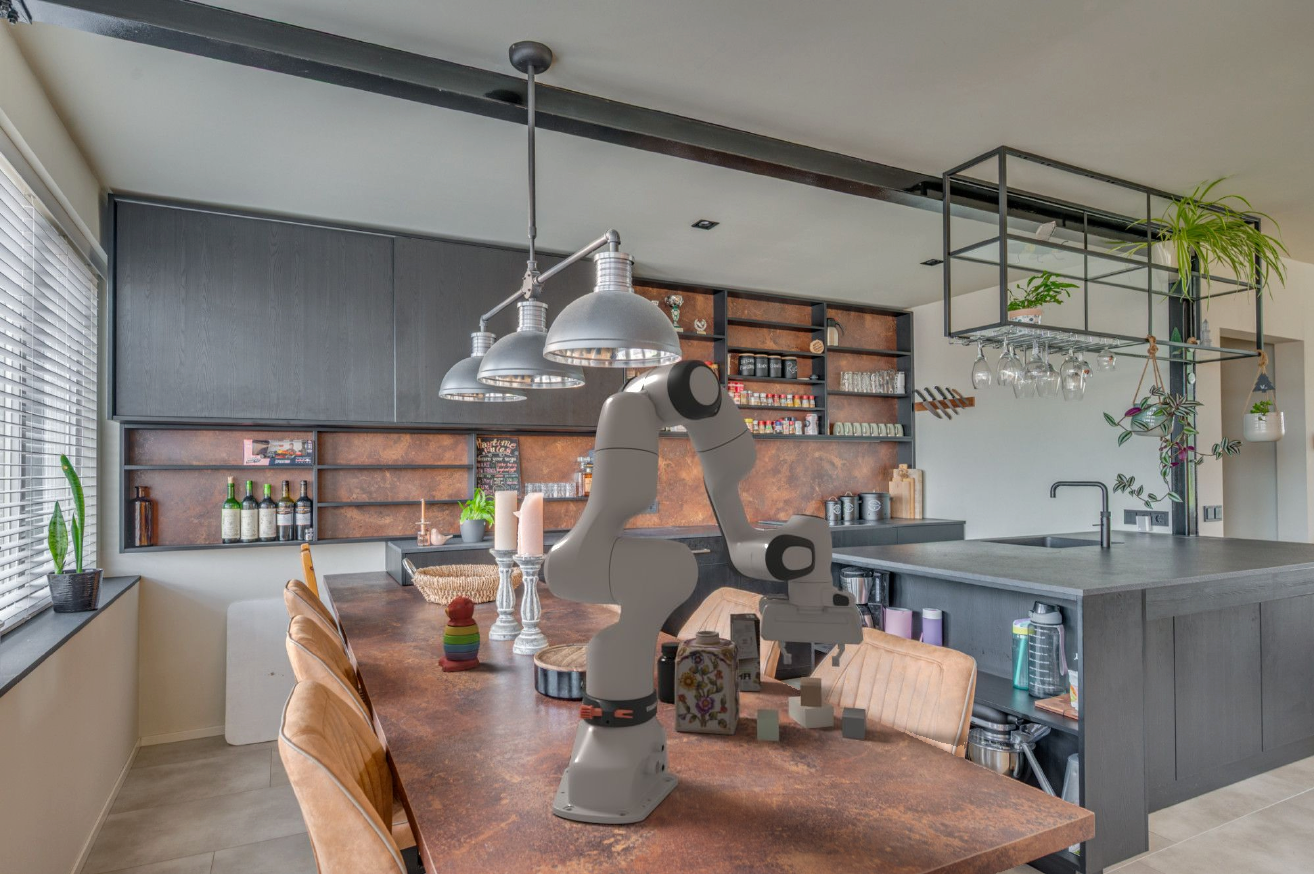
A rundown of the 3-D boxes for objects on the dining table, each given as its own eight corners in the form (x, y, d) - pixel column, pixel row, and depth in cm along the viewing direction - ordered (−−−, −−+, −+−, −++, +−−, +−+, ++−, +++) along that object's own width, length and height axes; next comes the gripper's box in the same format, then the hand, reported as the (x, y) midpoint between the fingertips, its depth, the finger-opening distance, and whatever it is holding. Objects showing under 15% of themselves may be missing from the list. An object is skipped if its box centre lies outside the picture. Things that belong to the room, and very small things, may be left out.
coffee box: (761, 691, 169) (760, 619, 170) (733, 691, 169) (732, 619, 170) (757, 680, 178) (756, 612, 179) (730, 680, 178) (729, 612, 179)
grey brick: (864, 740, 138) (863, 718, 138) (842, 738, 139) (841, 716, 139) (866, 729, 143) (865, 708, 144) (844, 727, 145) (844, 707, 145)
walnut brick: (821, 706, 145) (821, 686, 146) (800, 705, 146) (800, 685, 147) (821, 697, 151) (821, 677, 152) (801, 696, 152) (801, 676, 152)
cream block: (833, 727, 146) (833, 706, 146) (805, 729, 144) (805, 708, 144) (815, 714, 153) (815, 694, 153) (788, 716, 152) (788, 697, 152)
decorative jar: (734, 736, 140) (733, 639, 141) (673, 732, 142) (673, 637, 143) (740, 716, 152) (739, 627, 153) (684, 712, 154) (683, 625, 155)
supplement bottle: (689, 694, 167) (688, 640, 167) (687, 703, 160) (687, 647, 161) (658, 693, 167) (658, 640, 168) (655, 703, 161) (655, 646, 161)
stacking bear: (436, 663, 197) (437, 595, 198) (475, 659, 201) (475, 592, 202) (443, 672, 187) (444, 601, 188) (483, 668, 191) (484, 598, 192)
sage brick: (779, 741, 137) (778, 719, 138) (757, 740, 138) (756, 718, 138) (778, 730, 143) (778, 709, 143) (757, 729, 144) (757, 708, 144)
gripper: (757, 595, 149) (758, 665, 148) (863, 598, 144) (864, 671, 143) (760, 591, 155) (760, 658, 154) (861, 594, 151) (862, 663, 150)
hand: (811, 664), depth 149 cm, fingers open, 8 cm apart
